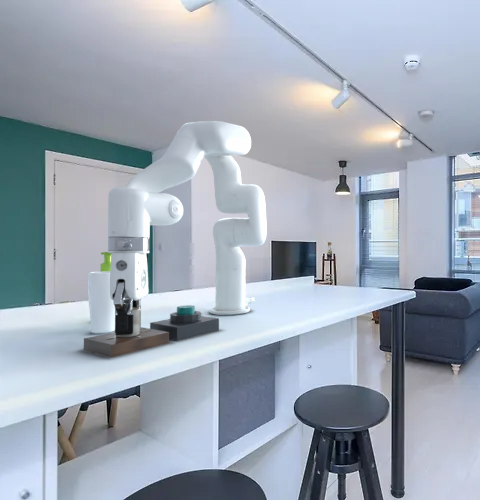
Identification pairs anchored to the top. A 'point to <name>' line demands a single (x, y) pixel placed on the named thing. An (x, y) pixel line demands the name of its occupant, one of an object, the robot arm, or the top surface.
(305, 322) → the top surface
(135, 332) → the lock knob
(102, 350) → the panel
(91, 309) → the white lotion bottle
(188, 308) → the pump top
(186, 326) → the button base
